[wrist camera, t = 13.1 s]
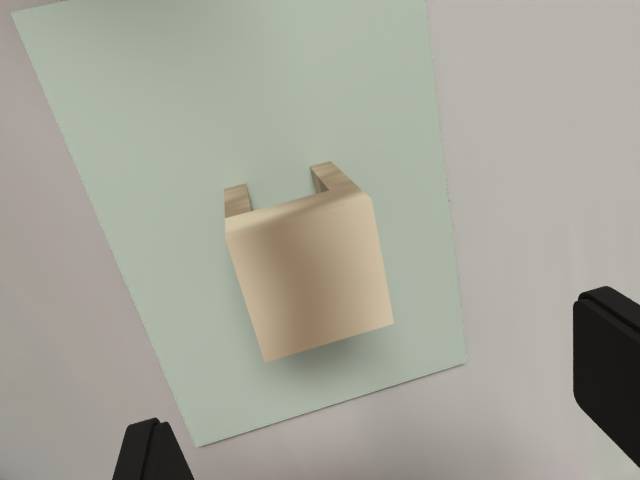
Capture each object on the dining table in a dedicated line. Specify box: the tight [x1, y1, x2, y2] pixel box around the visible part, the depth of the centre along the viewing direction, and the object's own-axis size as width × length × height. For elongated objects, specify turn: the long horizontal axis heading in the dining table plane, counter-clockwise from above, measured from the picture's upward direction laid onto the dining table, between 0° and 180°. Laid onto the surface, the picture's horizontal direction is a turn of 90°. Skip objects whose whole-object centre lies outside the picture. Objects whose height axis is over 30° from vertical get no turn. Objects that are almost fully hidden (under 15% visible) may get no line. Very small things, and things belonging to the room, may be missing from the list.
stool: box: [224, 161, 394, 362], centre depth 20 cm, size 5×5×6 cm
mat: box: [10, 0, 468, 448], centre depth 23 cm, size 16×22×1 cm
